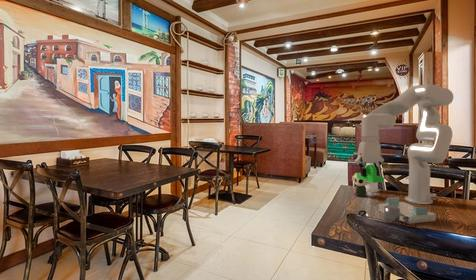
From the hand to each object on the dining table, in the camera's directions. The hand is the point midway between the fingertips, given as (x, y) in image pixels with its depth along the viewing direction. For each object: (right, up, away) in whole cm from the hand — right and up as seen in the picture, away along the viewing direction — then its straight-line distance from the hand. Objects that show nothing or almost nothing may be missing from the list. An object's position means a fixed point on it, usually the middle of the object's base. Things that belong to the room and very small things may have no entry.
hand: (369, 175), depth 133 cm
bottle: (+18, -15, +36) cm, 43 cm away
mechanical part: (0, -2, 0) cm, 2 cm away
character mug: (+7, -15, +25) cm, 30 cm away
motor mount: (+9, -18, -8) cm, 22 cm away
